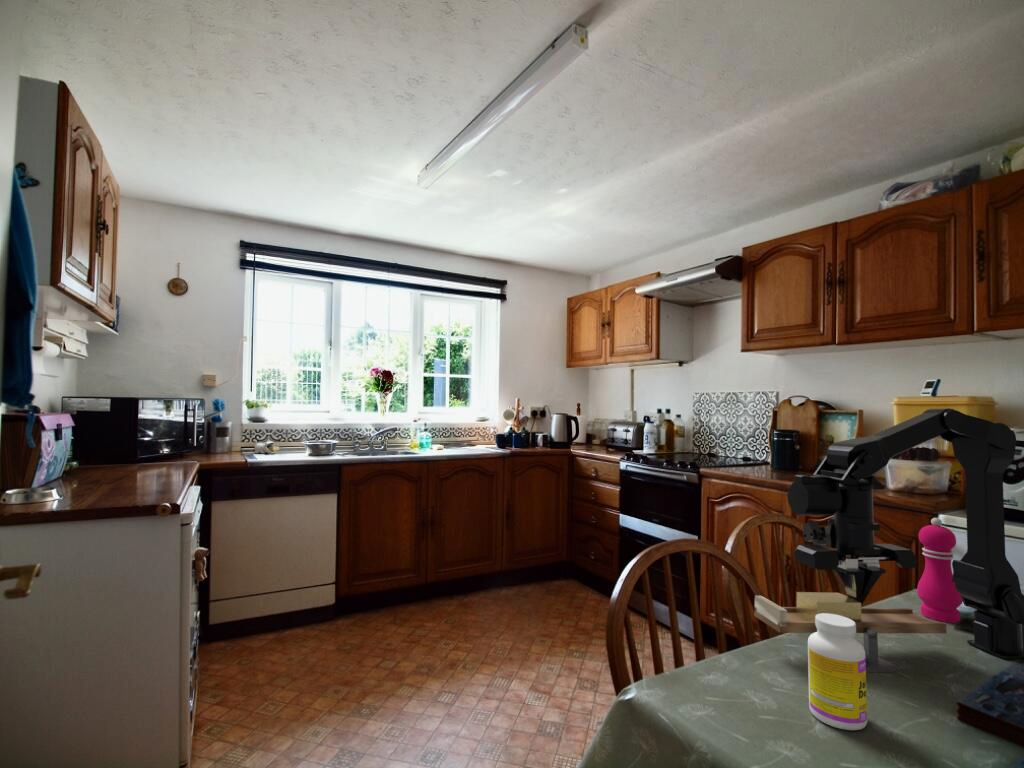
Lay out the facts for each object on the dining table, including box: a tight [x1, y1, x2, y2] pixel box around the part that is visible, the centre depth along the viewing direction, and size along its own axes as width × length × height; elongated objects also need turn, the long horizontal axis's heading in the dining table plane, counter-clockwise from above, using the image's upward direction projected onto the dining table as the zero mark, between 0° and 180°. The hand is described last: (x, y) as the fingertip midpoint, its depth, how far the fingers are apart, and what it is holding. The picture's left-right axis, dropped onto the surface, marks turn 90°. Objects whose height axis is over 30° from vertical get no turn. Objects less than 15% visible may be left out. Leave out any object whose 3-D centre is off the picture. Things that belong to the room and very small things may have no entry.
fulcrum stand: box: [862, 627, 897, 674], centre depth 88 cm, size 6×12×6 cm, turn 7°
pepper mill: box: [916, 517, 963, 624], centre depth 106 cm, size 7×7×20 cm
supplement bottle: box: [807, 613, 868, 731], centre depth 70 cm, size 7×7×13 cm
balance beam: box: [754, 595, 948, 634], centre depth 88 cm, size 30×7×4 cm, turn 97°
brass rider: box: [796, 591, 862, 622], centre depth 88 cm, size 8×5×4 cm, turn 97°
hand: (856, 607), depth 89 cm, fingers closed
